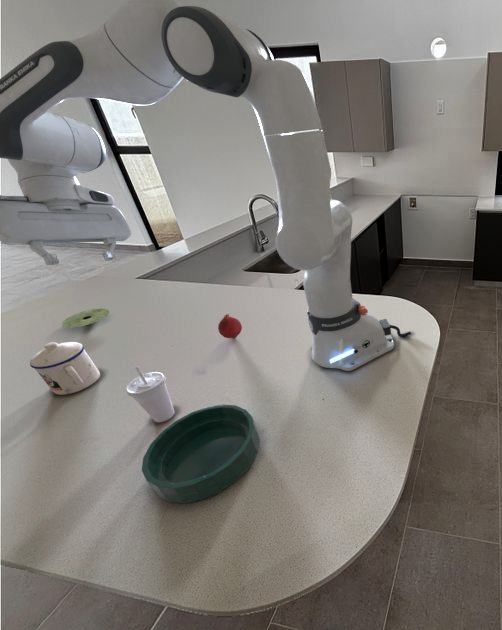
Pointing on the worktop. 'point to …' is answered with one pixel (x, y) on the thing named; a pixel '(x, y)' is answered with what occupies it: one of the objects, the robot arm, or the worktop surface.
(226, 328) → the onion
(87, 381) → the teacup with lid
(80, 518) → the worktop surface
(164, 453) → the green round tray
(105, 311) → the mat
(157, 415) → the smoothie
